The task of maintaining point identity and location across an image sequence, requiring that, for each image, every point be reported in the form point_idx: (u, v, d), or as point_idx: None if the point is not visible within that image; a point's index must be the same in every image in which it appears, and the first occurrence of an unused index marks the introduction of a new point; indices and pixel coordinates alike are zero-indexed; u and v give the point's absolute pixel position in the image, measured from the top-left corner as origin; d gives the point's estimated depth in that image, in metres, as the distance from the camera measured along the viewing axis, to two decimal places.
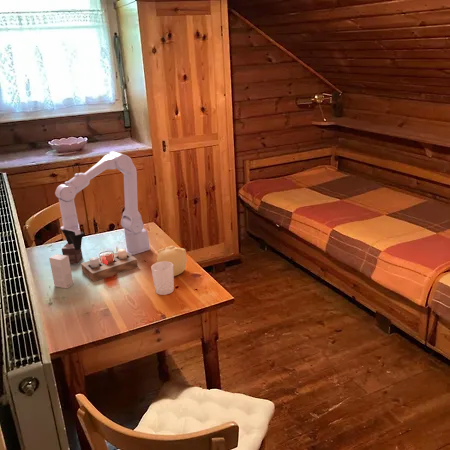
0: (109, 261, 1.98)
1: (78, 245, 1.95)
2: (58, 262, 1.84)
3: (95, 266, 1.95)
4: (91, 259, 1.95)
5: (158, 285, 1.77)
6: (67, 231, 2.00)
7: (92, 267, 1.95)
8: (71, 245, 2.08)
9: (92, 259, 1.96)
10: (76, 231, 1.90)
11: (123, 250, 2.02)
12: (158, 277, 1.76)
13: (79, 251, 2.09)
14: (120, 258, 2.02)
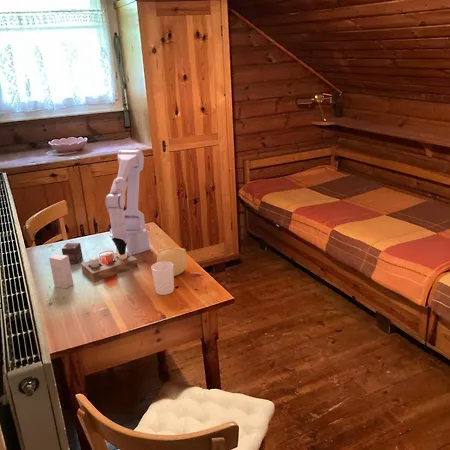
0: (109, 261, 1.98)
1: (123, 250, 2.02)
2: (58, 262, 1.84)
3: (95, 266, 1.95)
4: (91, 259, 1.95)
5: (158, 285, 1.77)
6: None
7: (92, 267, 1.95)
8: (71, 245, 2.08)
9: (92, 259, 1.96)
10: (126, 239, 1.94)
11: (123, 254, 2.03)
12: (158, 277, 1.76)
13: (79, 251, 2.09)
14: None
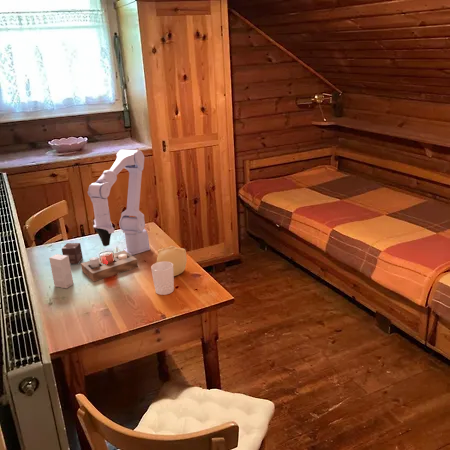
0: (109, 261, 1.98)
1: (107, 241, 1.96)
2: (58, 262, 1.84)
3: (95, 266, 1.95)
4: (91, 259, 1.95)
5: (158, 285, 1.77)
6: None
7: (92, 267, 1.95)
8: (71, 245, 2.08)
9: (92, 259, 1.96)
10: (110, 229, 1.88)
11: (124, 255, 2.03)
12: (158, 277, 1.76)
13: (79, 251, 2.09)
14: None
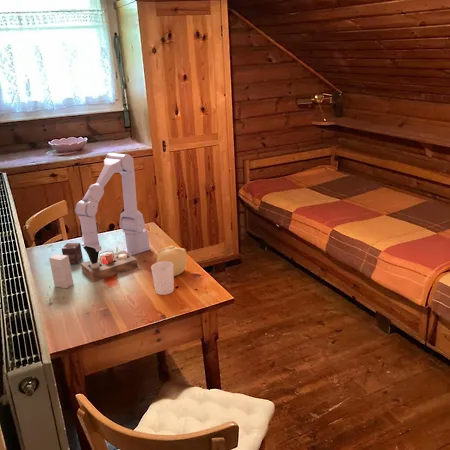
0: (109, 261, 1.98)
1: (95, 259, 1.95)
2: (58, 262, 1.84)
3: None
4: None
5: (158, 285, 1.77)
6: None
7: None
8: (71, 245, 2.08)
9: None
10: (97, 248, 1.87)
11: (124, 255, 2.03)
12: (158, 277, 1.76)
13: (79, 251, 2.09)
14: None
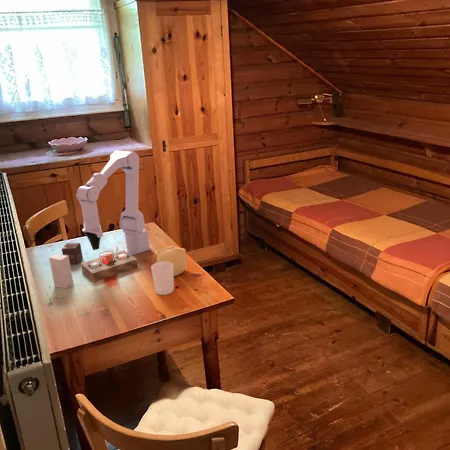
0: (109, 261, 1.98)
1: (96, 245, 1.94)
2: (58, 262, 1.84)
3: None
4: (92, 264, 1.96)
5: (158, 285, 1.77)
6: None
7: None
8: (71, 245, 2.08)
9: (93, 264, 1.96)
10: (98, 233, 1.86)
11: (124, 255, 2.03)
12: (158, 277, 1.76)
13: (79, 251, 2.09)
14: None
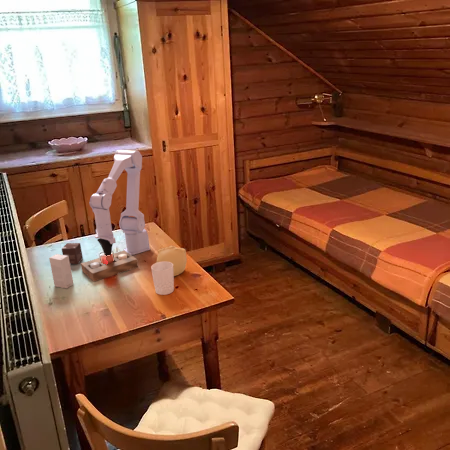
0: (109, 261, 1.98)
1: (108, 251, 1.98)
2: (58, 262, 1.84)
3: None
4: (92, 264, 1.96)
5: (158, 285, 1.77)
6: None
7: None
8: (71, 245, 2.08)
9: (93, 264, 1.96)
10: (111, 240, 1.90)
11: (124, 255, 2.03)
12: (158, 277, 1.76)
13: (79, 251, 2.09)
14: None
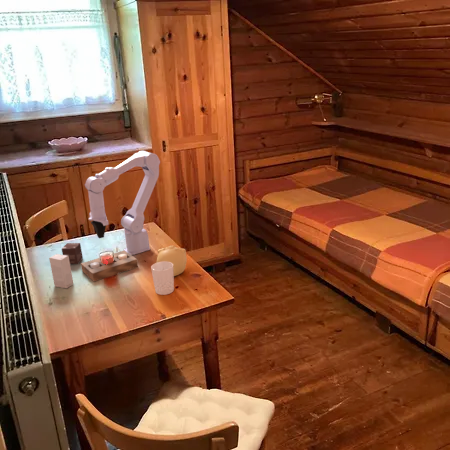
0: None
1: (101, 233, 2.05)
2: (58, 262, 1.84)
3: None
4: (92, 264, 1.96)
5: (158, 285, 1.77)
6: None
7: None
8: (71, 245, 2.08)
9: (93, 264, 1.96)
10: (104, 222, 1.97)
11: (124, 255, 2.03)
12: (158, 277, 1.76)
13: (79, 251, 2.09)
14: None
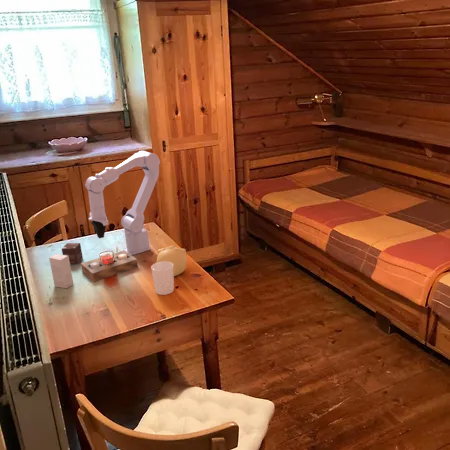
0: None
1: (101, 233, 2.05)
2: (58, 262, 1.84)
3: None
4: (92, 264, 1.96)
5: (158, 285, 1.77)
6: None
7: None
8: (71, 245, 2.08)
9: (93, 264, 1.96)
10: (104, 222, 1.97)
11: (124, 255, 2.03)
12: (158, 277, 1.76)
13: (79, 251, 2.09)
14: None
